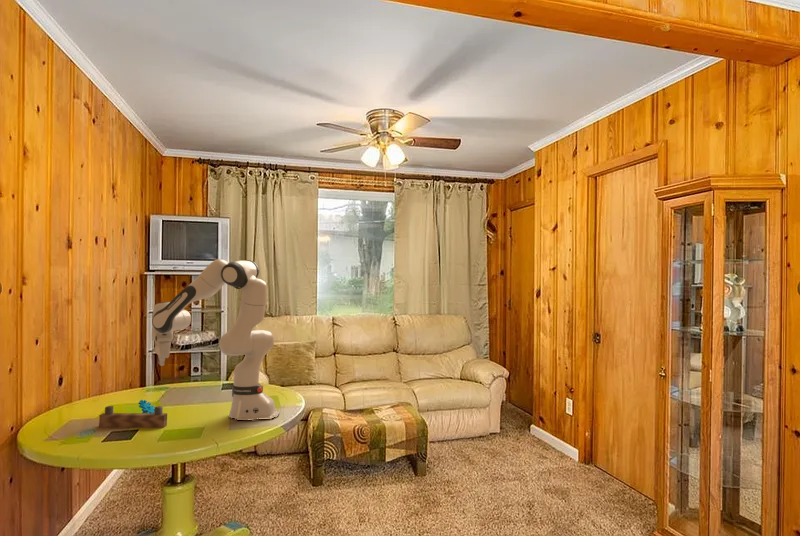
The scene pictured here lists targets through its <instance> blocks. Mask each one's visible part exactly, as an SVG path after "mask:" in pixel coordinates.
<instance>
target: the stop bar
mask: <svg viewBox="0 0 800 536" xmlns="http://www.w3.org/2000/svg"><path fill="white" fill-rule="evenodd" d="M163 408H164V407H163V405H162V406H161V405H159V406H155V408H154V409H155V412H154V413H142V412H141V413H138V412H135V413H134V412H131V413H130V412H125V413H121V412H120V413H119V412H117V413H115V412H114V405H108V406H105V407H104V413H102V414H101V413H100V415H99V418H98V419H99V420H98V428H165V427H166V426H167V425H168V413H164V411H163V410H164V409H163Z"/></svg>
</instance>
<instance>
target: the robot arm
mask: <svg viewBox="0 0 800 536" xmlns="http://www.w3.org/2000/svg"><path fill="white" fill-rule="evenodd" d="M259 274H260V268H259V266H258V264H257V263H256V262H255V261H254V260H251V259H249V260H248V259H243V260H235V261H230V262H228V261H227V260H225V259H222V258H216V259H214V260H213V261H212V262H210V264H207V266H206V267H205V268H203V270H202V271H201V272H200V274H199V275H198V276H197V277H196V278H195V279H194V280H193V281H192V282H191V283H189V284H188V285H187V286H186V287H185V288H183V289H181V291H180V292H179V293H178V294H177V295H176V296H174V298H173V299H171V301H162V302H157V303H156V304H155V305H154V306H153V307H154V308H153V311H152V318H151V319H152V320H151V324H152V330H151V331H152V332H151V340H152V341H154V345H155V346H154V352H155V354H156V355H157V357H158V365H159V366H161V367H164V366H165V361H166V359H168V358H169V357H170V354H171V343H172V342H173V340H174V339H173V338H174V334H173V333H174V331H179V330H184V329H188V328H189V327H190V326H191V324H192V315H191V313H190V312H189V311H188V310H186V309H185V308H186V307H188V306H189V305H190V304H192V303H194V302H198V301H200V300H205V299H209V298H211V297H213V296H214V295H215V294H217V293H218V292H220V290H221V289H222V287H224V285H228V286H231V287H233V288H234V289H236V290H241V291H242V292H241V300H240V307H239V311H238V316H237V318H236V321H235V322H234V324H233V325H232V327H231V328H230V329H229V330H228V331H226V332H225V333H223V335H222V336H221V337H220V340H219V345H218V346H219V350H220V351H221V353H222V355H225V356H232V357H233V356H234V357H237V356H244V355H245V356H244V358H243V359H242V361H240V362H239V363H238V364H237V365H236V366H235V367H234V369H233V384H232V387H231V395H232V396H231V397H232V400H231V407H230V410H229V414H228V418H230V417H231V418H230V419H232V418H235V419H234V420H236V419H237V420H248V419H257V418H258V419H259V418H270V417H274V416H272V415H278V414H279V411H280V410H279V411H276V410H275V409H276V405H275V404H276V403H275V400H274V399H273V398H271V397H270V396H269V395H267V394H266V393H265V392H263V391H264V385H263V384H260V383H259V382H260V368H261V364H262V362H263V359H264V358H265V356H266V355H267V353H268V352H270V351H271V350H272V349H273V347H274V344H275V337H274V334H273V333H272V332H271V331H269V330H266V329H265V330H263V329H254V328H255V327H257V326H258V325H260V324H261V323H262V322H263V321H264V318H265V313H266V307H267V297H268V284H267V283H266V281H264V280H263V279H261V278H258V277H259ZM279 415H280V414H279ZM237 420H236V421H237Z"/></svg>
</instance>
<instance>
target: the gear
mask: <svg viewBox="0 0 800 536" xmlns="http://www.w3.org/2000/svg"><path fill="white" fill-rule="evenodd" d="M138 404H139V405H138V408H140V409H141V411H142V412H141V413H154V412H155V407H156V405H155V404H152V403H151V402H150V401H147V400H146V399H141V400H139V402H138Z"/></svg>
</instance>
